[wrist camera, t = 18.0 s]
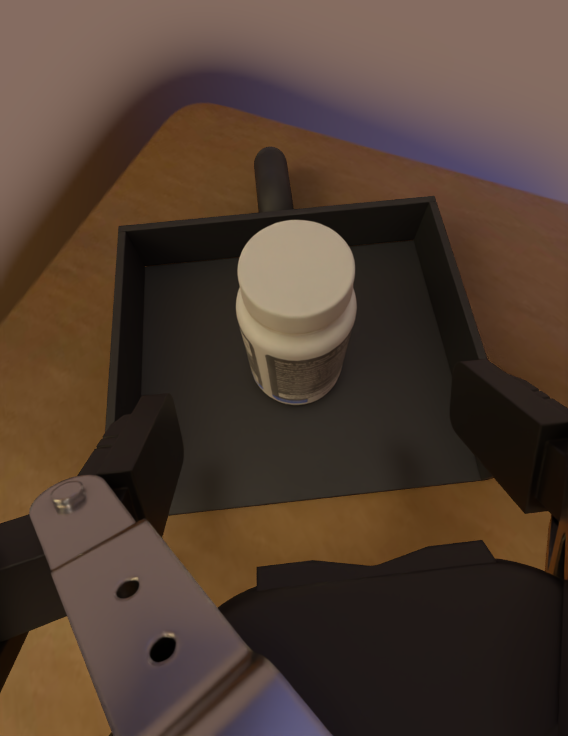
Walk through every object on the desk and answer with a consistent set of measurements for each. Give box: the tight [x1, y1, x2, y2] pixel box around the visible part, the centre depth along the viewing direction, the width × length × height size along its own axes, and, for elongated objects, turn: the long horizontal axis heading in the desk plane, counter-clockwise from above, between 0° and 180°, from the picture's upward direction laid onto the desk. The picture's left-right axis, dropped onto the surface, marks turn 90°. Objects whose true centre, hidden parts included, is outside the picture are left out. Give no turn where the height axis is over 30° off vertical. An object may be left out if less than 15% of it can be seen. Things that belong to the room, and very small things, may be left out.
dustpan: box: [105, 147, 494, 515], centre depth 21 cm, size 20×17×3 cm
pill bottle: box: [236, 220, 357, 405], centre depth 17 cm, size 5×5×8 cm
